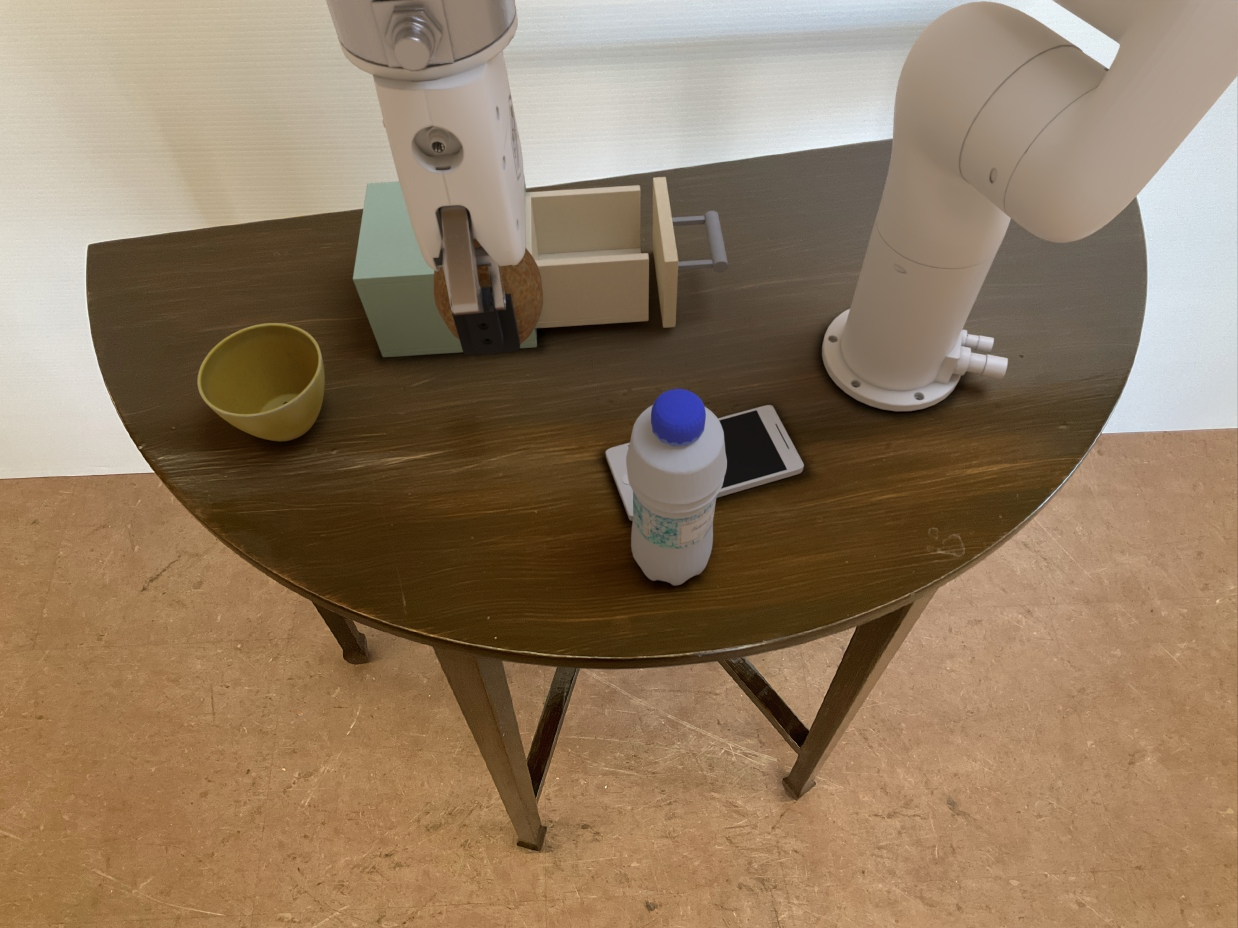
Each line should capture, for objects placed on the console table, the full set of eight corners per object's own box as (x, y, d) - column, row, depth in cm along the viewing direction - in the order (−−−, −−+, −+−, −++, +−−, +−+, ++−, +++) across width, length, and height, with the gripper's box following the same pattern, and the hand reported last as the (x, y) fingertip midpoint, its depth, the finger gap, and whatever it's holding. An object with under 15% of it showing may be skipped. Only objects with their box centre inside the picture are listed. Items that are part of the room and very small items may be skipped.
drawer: (711, 241, 87) (717, 173, 80) (727, 323, 81) (734, 257, 74) (531, 253, 87) (522, 185, 80) (532, 336, 81) (522, 271, 74)
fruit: (488, 395, 50) (462, 297, 43) (429, 336, 53) (396, 236, 46) (571, 340, 52) (558, 239, 45) (509, 286, 55) (489, 183, 48)
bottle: (681, 610, 66) (694, 466, 49) (611, 564, 68) (602, 411, 51) (729, 548, 69) (756, 392, 52) (661, 506, 71) (666, 343, 54)
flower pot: (367, 417, 77) (344, 365, 71) (271, 486, 73) (238, 437, 67) (305, 358, 81) (278, 305, 75) (210, 420, 77) (174, 369, 71)
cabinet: (535, 255, 88) (524, 173, 80) (537, 347, 81) (524, 268, 73) (393, 264, 88) (366, 183, 79) (382, 357, 81) (352, 279, 72)
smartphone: (604, 454, 74) (604, 448, 73) (770, 409, 76) (771, 402, 75) (630, 523, 70) (630, 517, 69) (803, 473, 72) (805, 466, 71)
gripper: (516, 115, 30) (563, 417, 45) (511, -110, 40) (551, 202, 55) (303, 133, 30) (421, 430, 45) (349, -97, 40) (434, 211, 55)
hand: (492, 302), depth 50 cm, fingers closed on fruit, 6 cm apart
